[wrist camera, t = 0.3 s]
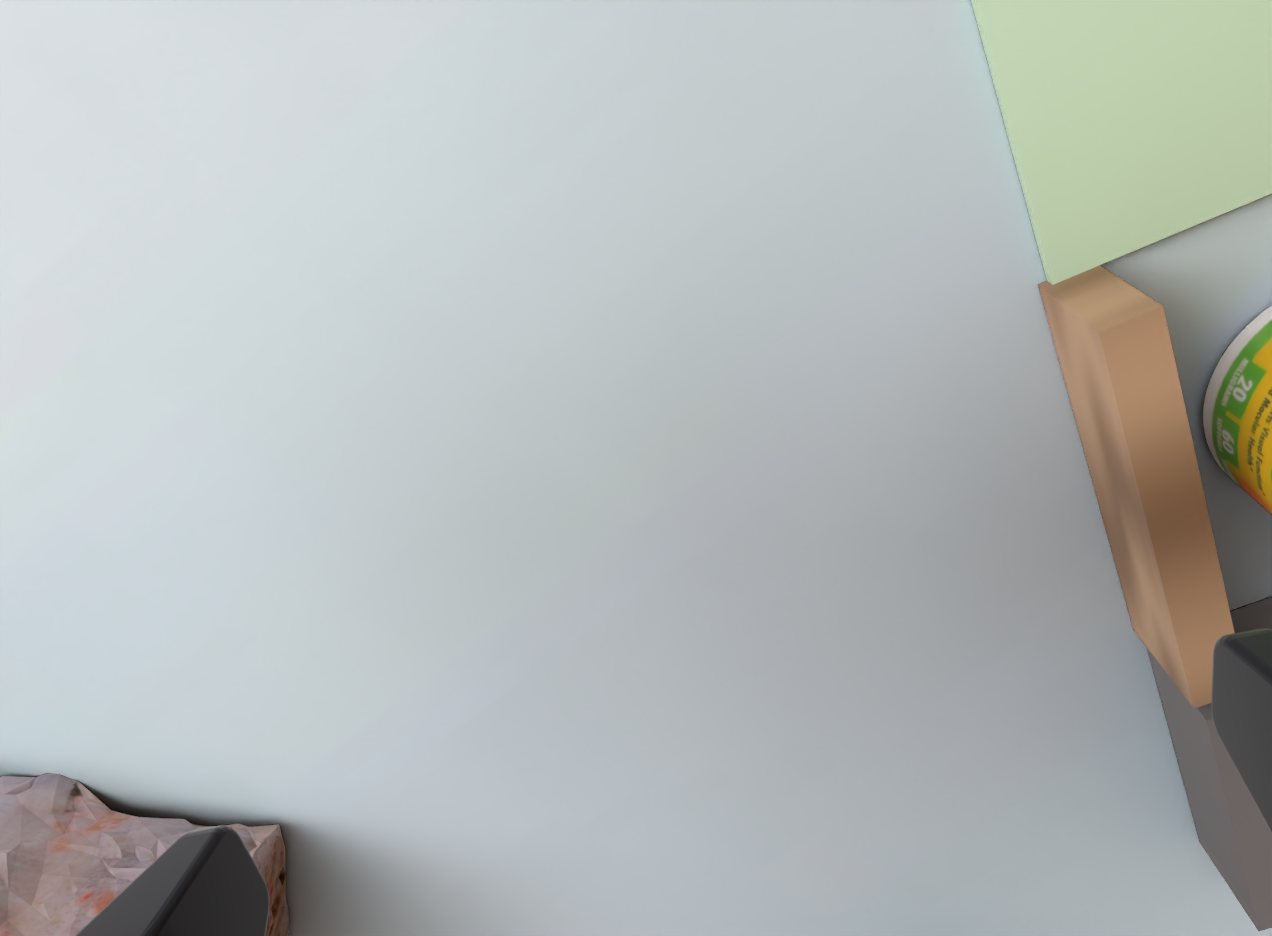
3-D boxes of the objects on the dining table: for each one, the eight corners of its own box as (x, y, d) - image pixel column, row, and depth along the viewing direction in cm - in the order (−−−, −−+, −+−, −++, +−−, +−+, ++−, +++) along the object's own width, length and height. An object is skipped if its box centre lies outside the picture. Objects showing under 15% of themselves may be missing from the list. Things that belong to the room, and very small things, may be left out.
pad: (1549, 71, 20) (1561, 72, 19) (1046, 281, 21) (1052, 284, 21) (1537, -341, 17) (1553, -346, 16) (955, -58, 18) (960, -58, 18)
